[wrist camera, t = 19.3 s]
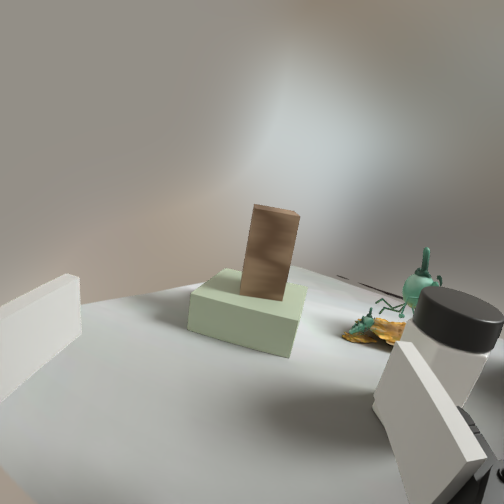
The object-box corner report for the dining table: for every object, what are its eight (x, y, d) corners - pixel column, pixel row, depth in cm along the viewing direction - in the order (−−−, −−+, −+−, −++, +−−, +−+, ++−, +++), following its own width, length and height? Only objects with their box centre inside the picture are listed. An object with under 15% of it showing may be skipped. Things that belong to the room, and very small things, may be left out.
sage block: (300, 319, 44) (307, 287, 43) (288, 361, 33) (298, 320, 32) (220, 299, 47) (225, 267, 46) (186, 332, 35) (190, 293, 34)
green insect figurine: (333, 317, 46) (367, 223, 43) (429, 343, 45) (464, 260, 42) (341, 346, 37) (385, 233, 34) (450, 372, 36) (495, 276, 32)
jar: (464, 438, 20) (524, 323, 17) (401, 457, 19) (470, 325, 16) (420, 388, 29) (461, 287, 26) (360, 394, 27) (401, 280, 24)
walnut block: (278, 286, 41) (294, 211, 39) (282, 301, 36) (300, 216, 34) (240, 280, 41) (254, 203, 39) (239, 295, 36) (254, 208, 34)
